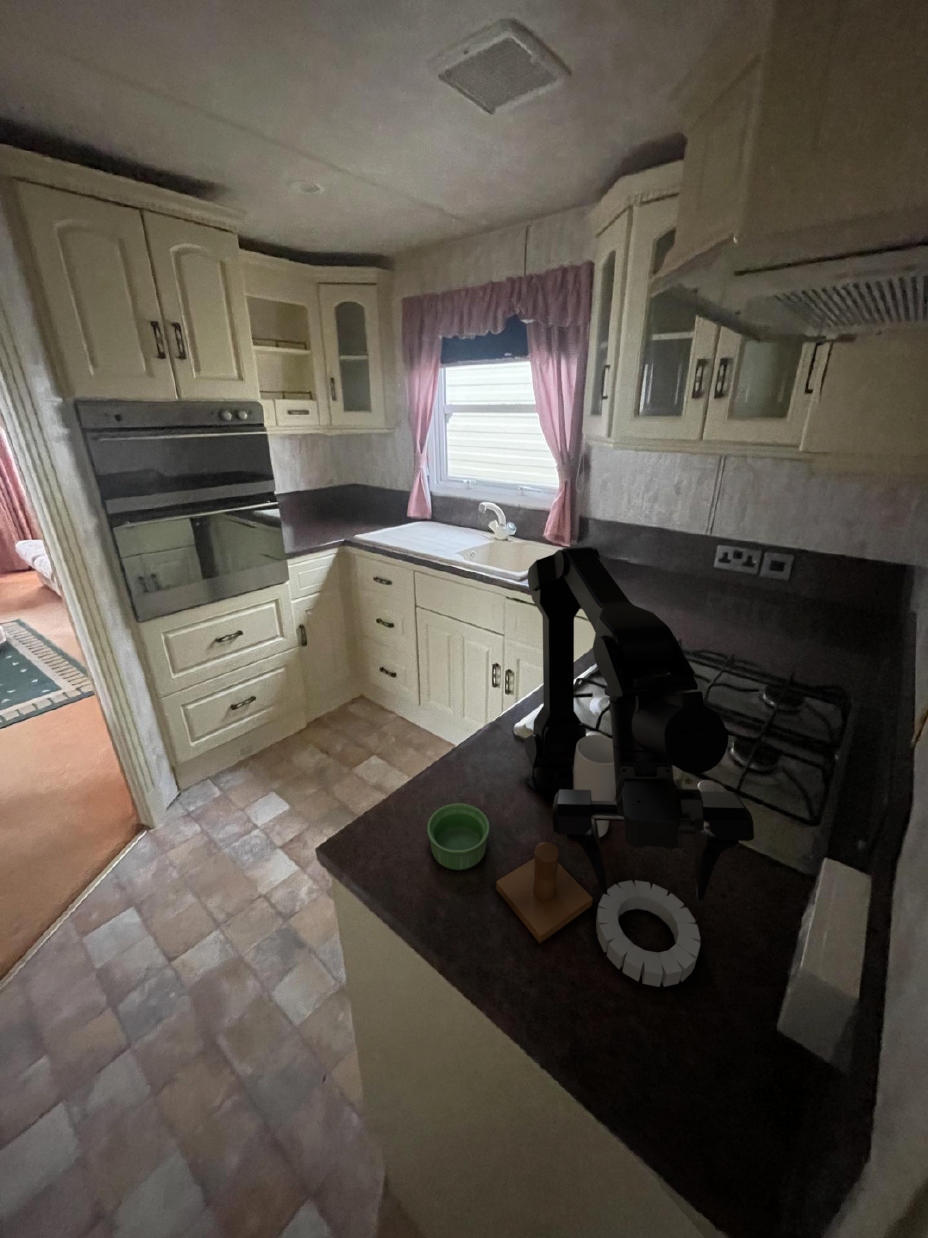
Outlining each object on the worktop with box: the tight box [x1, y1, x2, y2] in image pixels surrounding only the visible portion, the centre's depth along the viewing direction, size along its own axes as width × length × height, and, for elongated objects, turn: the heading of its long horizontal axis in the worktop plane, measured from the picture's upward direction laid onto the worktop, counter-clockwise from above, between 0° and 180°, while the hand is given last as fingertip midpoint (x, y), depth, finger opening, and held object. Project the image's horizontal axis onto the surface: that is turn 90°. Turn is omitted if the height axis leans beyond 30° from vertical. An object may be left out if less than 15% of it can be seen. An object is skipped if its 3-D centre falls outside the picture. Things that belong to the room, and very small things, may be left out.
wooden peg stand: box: [495, 841, 594, 944], centre depth 67 cm, size 9×9×8 cm
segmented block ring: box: [595, 879, 702, 988], centre depth 63 cm, size 12×12×2 cm
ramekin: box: [426, 802, 490, 871], centre depth 75 cm, size 9×9×4 cm
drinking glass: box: [572, 734, 616, 838], centre depth 76 cm, size 7×7×15 cm
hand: (651, 895), depth 53 cm, fingers open, 9 cm apart
